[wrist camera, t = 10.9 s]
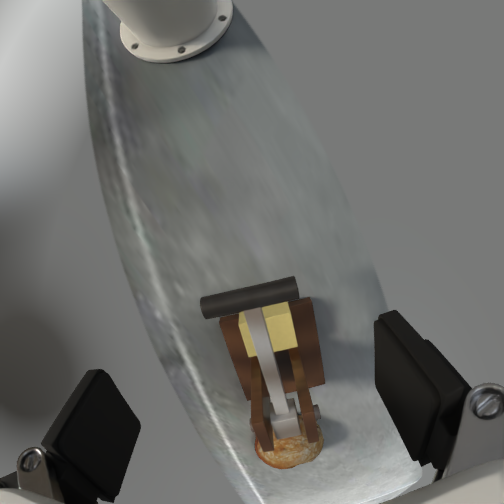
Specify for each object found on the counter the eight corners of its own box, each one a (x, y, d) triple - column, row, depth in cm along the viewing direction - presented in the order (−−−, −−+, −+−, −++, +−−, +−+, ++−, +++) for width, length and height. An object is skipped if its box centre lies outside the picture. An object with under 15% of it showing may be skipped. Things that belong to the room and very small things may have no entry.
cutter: (219, 317, 31) (204, 396, 19) (309, 296, 31) (342, 367, 18) (247, 394, 34) (246, 474, 22) (323, 378, 34) (348, 454, 21)
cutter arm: (202, 290, 19) (197, 307, 17) (291, 269, 19) (298, 284, 16) (254, 423, 23) (255, 443, 21) (318, 410, 23) (323, 430, 21)
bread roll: (322, 413, 40) (346, 432, 32) (292, 462, 37) (310, 487, 30) (268, 395, 38) (285, 416, 31) (238, 449, 36) (249, 476, 28)
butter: (239, 309, 30) (238, 324, 26) (286, 298, 29) (290, 312, 26) (248, 341, 31) (248, 357, 27) (293, 330, 30) (298, 346, 27)
